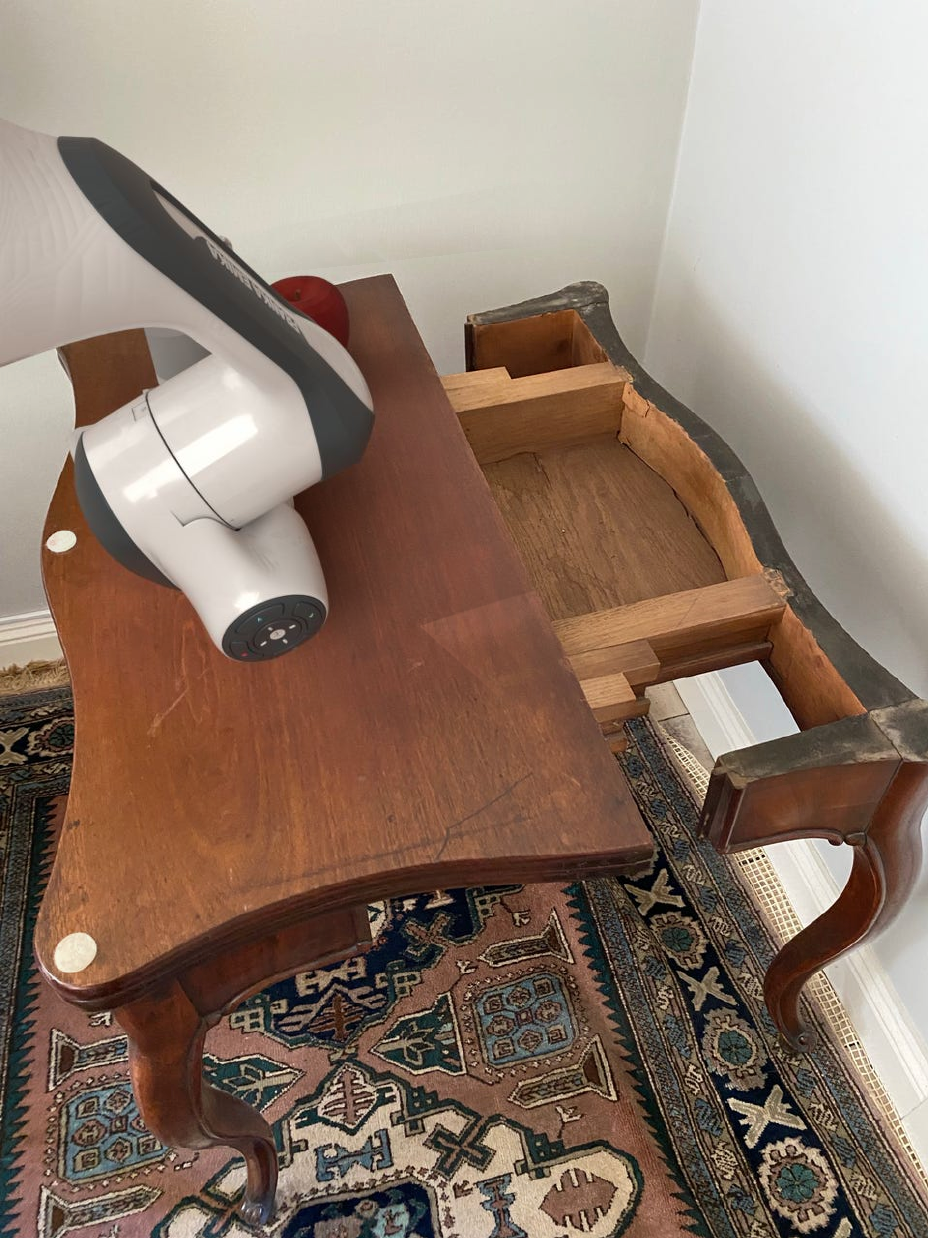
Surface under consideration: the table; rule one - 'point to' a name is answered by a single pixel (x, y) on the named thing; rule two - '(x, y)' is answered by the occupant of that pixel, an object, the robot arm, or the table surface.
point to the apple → (317, 303)
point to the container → (172, 352)
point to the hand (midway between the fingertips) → (188, 387)
